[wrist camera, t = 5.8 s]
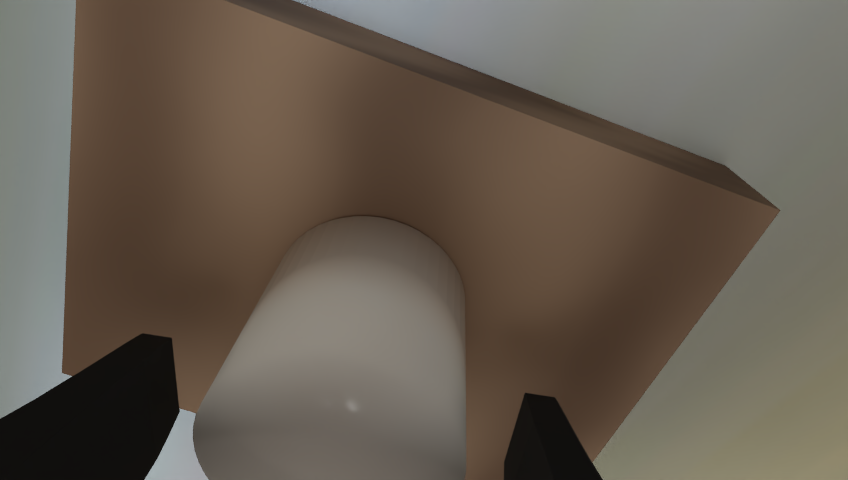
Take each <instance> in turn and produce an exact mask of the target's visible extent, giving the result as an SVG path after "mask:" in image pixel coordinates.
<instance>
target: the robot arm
mask: <svg viewBox="0 0 848 480" xmlns="http://www.w3.org/2000/svg"><path fill="white" fill-rule="evenodd" d="M179 412H180V411H179V401H178V391H177V382H176V372H175V362H174V353H173V343H172V338H170V337H164V336H158V335H151V334H145V333H142V334H140V335H138V336H137V337H135V338H133V339H131V340H130V341H128V342H127V343H125V344H123V345H122V346H120V347H118V348H117V349H115V350H114V351H112V352H111V353H109V354H107V355H106V356H104V357H103V358H101V359H99V360H98V361H96V362H95V363H93V364H91V365H90V366H88V367H87V368H85V369H84V370H82V371H80V372H79V373H77V374H75V375H74V376H72V377H71V378H69V379H67V380H66V381H64V382H62V383H61V384H59V385H58V386H56V387H54V388H53V389H51V390H49V391H48V392H46V393H45V394H43V395H41V396H40V397H38V398H36V399H35V400H33V401H31V402H29V403H28V404H26V405H24V406H22V407H20V408H19V409H17V410H15V411H13V412H12V413H10V414H8V415H6V416H5V417H3V418H1V419H0V480H144V479H145V477H146V476H147V474H148V473H149V471H150V469H151V468H152V466H153V465H154V463H155V461H156V460H157V458H158V456H159V454H160V452H161V450H162V448H163V446H164V444H165V442H166V440H167V438H168V436H169V434H170V431H171V429H172V427H173V425H174V423H175V421H176V418H177V416H178V414H179ZM504 480H603V479H602V478H601V476H600V475H599V473H598V471H597V470H596V468H595V466H594V465H593V463H592V461H591V460H590V458H589V456H588V455H587V453H586V451H585V449H584V448H583V446H582V444H581V442H580V441H579V439H578V437H577V435H576V433H575V432H574V430H573V428H572V426H571V424H570V423H569V421H568V419H567V417H566V415H565V413H564V412H563V410H562V408H561V406H560V404H559V402H558V401H557V400H556V398H555V397H550V396H544V395H537V394H531V393H525V394H524V397H523V401H522V404H521V407H520V411H519V414H518V417H517V420H516V424H515V427H514V430H513V434H512V437H511V440H510V444H509V447H508V450H507V454H506V457H505V460H504Z"/></svg>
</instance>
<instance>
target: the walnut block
mask: <svg viewBox="0 0 848 480" xmlns="http://www.w3.org/2000/svg"><path fill="white" fill-rule="evenodd" d="M779 211H780V210H779V209H778V208H777V207H776V206H774V205H773V204H772V203H771V202H769V201H768V200H767V199H766V198H765V197H763V196H762V195H761V194H760V193H758V192H757V191H756V190H755V189H753V188H752V187H751V186H750V185H748V184H747V183H746V182H745V181H744V180H742V179H741V178H740V177H739V176H737V175H736V174H735V173H734V172H732V171H731V170H730V169H729V168H727V167H726V166H724V165H722V164H719V163H716V162H714V161H711V160H709V159H706V158H703V157H701V156H698V155H695V154H693V153H690V152H688V151H685V150H682V149H680V148H677V147H675V146H672V145H669V144H667V143H664V142H661V141H659V140H656V139H654V138H651V137H648V136H646V135H643V134H641V133H638V132H635V131H633V130H630V129H627V128H625V127H622V126H620V125H617V124H614V123H612V122H609V121H607V120H604V119H601V118H599V117H596V116H594V115H591V114H588V113H586V112H583V111H580V110H578V109H575V108H573V107H570V106H567V105H565V104H562V103H560V102H557V101H554V100H552V99H549V98H546V97H544V96H541V95H539V94H536V93H533V92H531V91H528V90H526V89H523V88H520V87H518V86H515V85H512V84H510V83H507V82H505V81H502V80H499V79H497V78H494V77H492V76H489V75H486V74H484V73H481V72H478V71H476V70H473V69H471V68H468V67H465V66H463V65H460V64H458V63H455V62H452V61H450V60H447V59H444V58H442V57H439V56H437V55H434V54H431V53H429V52H426V51H424V50H421V49H418V48H416V47H413V46H410V45H408V44H405V43H403V42H400V41H397V40H395V39H392V38H390V37H387V36H384V35H382V34H379V33H376V32H374V31H371V30H369V29H366V28H363V27H361V26H358V25H356V24H353V23H350V22H348V21H345V20H342V19H340V18H337V17H335V16H332V15H329V14H327V13H324V12H322V11H319V10H316V9H314V8H311V7H308V6H306V5H303V4H301V3H298V2H295V1H293V0H76V19H75V46H74V72H73V98H72V125H71V151H70V177H69V203H68V230H67V256H66V282H65V308H64V335H63V361H62V373H64V374H67V375H71V376H74V375H75V374H77V373H79V372H80V371H82V370H84V369H85V368H87V367H88V366H90V365H91V364H93V363H95V362H96V361H98V360H99V359H101V358H103V357H104V356H106V355H107V354H109V353H111V352H112V351H114V350H115V349H117V348H118V347H120V346H122V345H123V344H125V343H127V342H128V341H130V340H131V339H133V338H135V337H137V336H138V335H140V334H142V333H145V334H151V335H158V336H164V337H170V338H172V343H173V353H174V362H175V372H176V382H177V391H178V401H179V408H180V409H184V410H187V411H190V412H194V413H197V411H198V409H199V407H200V405H201V402H202V401H203V399H204V397H205V395H206V394H207V392H208V390H209V388H210V386H211V385H212V383H213V381H214V379H215V378H216V376H217V374H218V372H219V370H220V369H221V367H222V365H223V363H224V362H225V360H226V358H227V356H228V354H229V353H230V351H231V349H232V347H233V346H234V344H235V342H236V340H237V339H238V337H239V335H240V333H241V331H242V330H243V328H244V326H245V324H246V323H247V321H248V319H249V317H250V315H251V314H252V312H253V310H254V308H255V307H256V305H257V303H258V301H259V299H260V298H261V296H262V294H263V292H264V291H265V289H266V287H267V285H268V283H269V282H270V280H271V278H272V276H273V275H274V273H275V271H276V269H277V268H278V266H279V264H280V262H281V260H282V259H283V257H284V255H285V254H286V252H287V251H288V249H289V248H290V247H291V245H292V244H293V243H294V242H295V241H296V240H297V239H298V238H299V237H301V236H302V235H303V234H305V233H306V232H307V231H309V230H311V229H312V228H314V227H316V226H318V225H320V224H323V223H325V222H328V221H331V220H335V219H339V218H344V217H352V216H371V217H380V218H385V219H389V220H394V221H397V222H400V223H402V224H405V225H408V226H410V227H412V228H414V229H416V230H418V231H420V232H421V233H423V234H424V235H426V236H427V237H429V238H430V239H432V240H433V241H434V242H435V243H436V244H437V245H439V246H440V247H441V248H442V249H443V250H444V252H445V253H446V254H447V255H448V256H449V257H450V259H451V260H452V262H453V263H454V265H455V266H456V269H457V271H458V273H459V275H460V277H461V280H462V283H463V286H464V293H465V347H466V475H465V479H464V480H504V460H505V457H506V454H507V450H508V447H509V444H510V440H511V437H512V434H513V430H514V427H515V424H516V420H517V417H518V414H519V411H520V407H521V404H522V401H523V397H524V394H525V393H531V394H537V395H544V396H550V397H555V398H556V400H557V401H558V402H559V404H560V406H561V408H562V410H563V412H564V413H565V415H566V417H567V419H568V421H569V423H570V424H571V426H572V428H573V430H574V432H575V433H576V435H577V437H578V439H579V441H580V442H581V444H582V446H583V448H584V449H585V451H586V453H587V455H588V456H589V458H590V460H591V461H592V462H593V461H594V460H595V458H596V457H597V456H598V454H599V453H600V452H601V450H602V449H603V448H604V446H605V445H606V444H607V442H608V441H609V439H610V438H611V437H612V435H613V434H614V433H615V431H616V430H617V429H618V427H619V426H620V425H621V423H622V422H623V421H624V419H625V418H626V417H627V415H628V414H629V413H630V411H631V410H632V409H633V407H634V406H635V405H636V403H637V402H638V401H639V399H640V398H641V397H642V395H643V394H644V393H645V391H646V390H647V389H648V387H649V386H650V384H651V383H652V382H653V380H654V379H655V378H656V376H657V375H658V374H659V372H660V371H661V370H662V368H663V367H664V366H665V364H666V363H667V362H668V360H669V359H670V358H671V356H672V355H673V354H674V352H675V351H676V350H677V348H678V347H679V346H680V344H681V343H682V342H683V340H684V339H685V338H686V336H687V335H688V334H689V332H690V331H691V330H692V328H693V327H694V325H695V324H696V323H697V321H698V320H699V319H700V317H701V316H702V315H703V313H704V312H705V311H706V309H707V308H708V307H709V305H710V304H711V303H712V301H713V300H714V299H715V297H716V296H717V295H718V293H719V292H720V291H721V289H722V288H723V287H724V285H725V284H726V283H727V281H728V280H729V279H730V277H731V276H732V275H733V273H734V272H735V270H736V269H737V268H738V266H739V265H740V264H741V262H742V261H743V260H744V258H745V257H746V256H747V254H748V253H749V252H750V250H751V249H752V248H753V246H754V245H755V244H756V242H757V241H758V240H759V238H760V237H761V236H762V234H763V233H764V232H765V230H766V229H767V228H768V226H769V225H770V224H771V222H772V221H773V220H774V218H775V217H776V216H777V214H778V213H779Z"/></svg>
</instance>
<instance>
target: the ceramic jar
mask: <svg viewBox="0 0 848 480" xmlns="http://www.w3.org/2000/svg"><path fill="white" fill-rule="evenodd" d="M193 442H194V448H195V452H196V455H197V458H198V461H199V463H200V465H201V467H202V469H203V471H204V473H205V475H206V476H207V477H208V479H209V480H464V479H465V475H466V347H465V293H464V286H463V283H462V280H461V277H460V275H459V273H458V271H457V269H456V266H455V265H454V263H453V262H452V260H451V259H450V257H449V256H448V255H447V254H446V253H445V252H444V250H443V249H442V248H441V247H440V246H439V245H437V244H436V243H435V242H434V241H433V240H432V239H430V238H429V237H427V236H426V235H424V234H423V233H421V232H420V231H418V230H416V229H414V228H412V227H410V226H408V225H405V224H402V223H400V222H397V221H394V220H389V219H385V218H380V217H371V216H352V217H344V218H339V219H335V220H331V221H328V222H325V223H323V224H320V225H318V226H316V227H314V228H312V229H311V230H309V231H307V232H306V233H305V234H303V235H302V236H301V237H299V238H298V239H297V240H296V241H295V242H294V243H293V244H292V245H291V247H290V248H289V249H288V251H287V252H286V254H285V255H284V257H283V259H282V260H281V262H280V264H279V266H278V268H277V269H276V271H275V273H274V275H273V276H272V278H271V280H270V282H269V283H268V285H267V287H266V289H265V291H264V292H263V294H262V296H261V298H260V299H259V301H258V303H257V305H256V307H255V308H254V310H253V312H252V314H251V315H250V317H249V319H248V321H247V323H246V324H245V326H244V328H243V330H242V331H241V333H240V335H239V337H238V339H237V340H236V342H235V344H234V346H233V347H232V349H231V351H230V353H229V354H228V356H227V358H226V360H225V362H224V363H223V365H222V367H221V369H220V370H219V372H218V374H217V376H216V378H215V379H214V381H213V383H212V385H211V386H210V388H209V390H208V392H207V394H206V395H205V397H204V399H203V401H202V402H201V405H200V407H199V409H198V411H197V413H196V417H195V421H194V425H193Z"/></svg>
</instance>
